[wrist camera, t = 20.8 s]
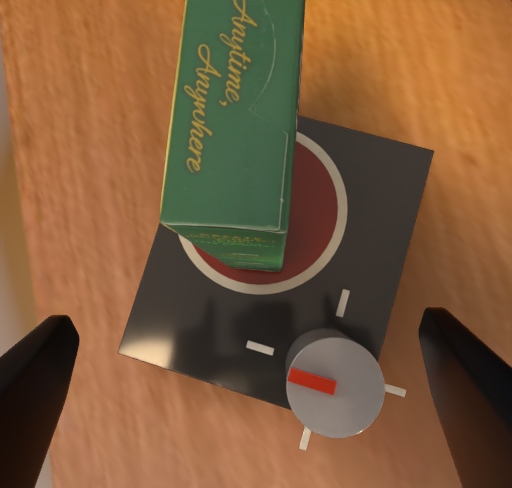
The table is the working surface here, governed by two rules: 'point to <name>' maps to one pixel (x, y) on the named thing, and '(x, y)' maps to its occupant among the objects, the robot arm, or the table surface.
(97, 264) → the table surface
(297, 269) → the cooking zone
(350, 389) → the hob knob
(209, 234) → the coffee box
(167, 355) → the hob
